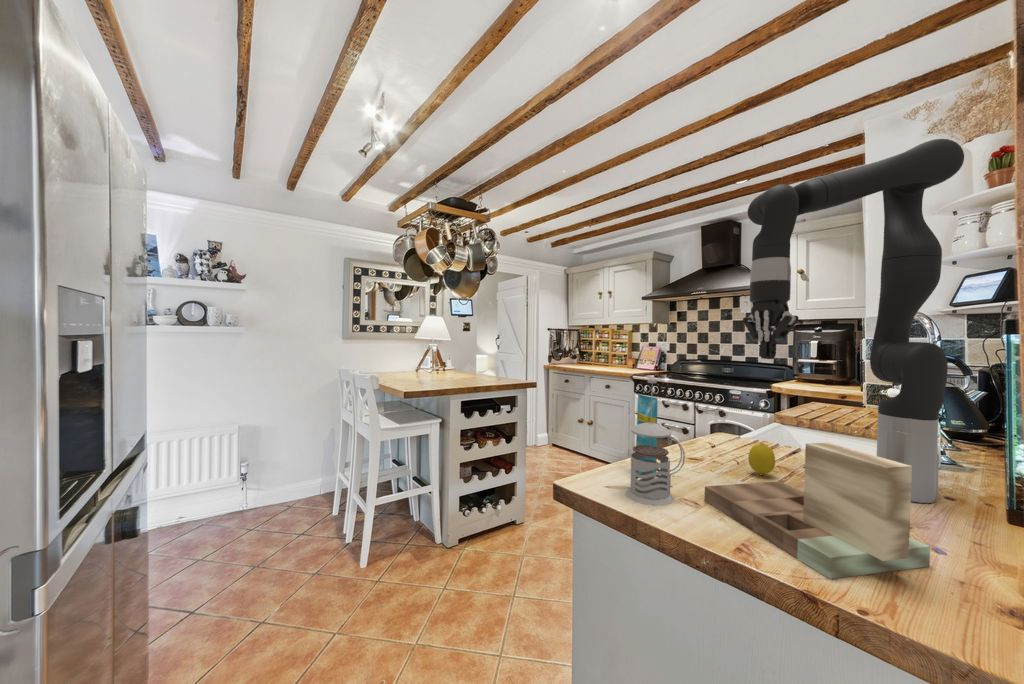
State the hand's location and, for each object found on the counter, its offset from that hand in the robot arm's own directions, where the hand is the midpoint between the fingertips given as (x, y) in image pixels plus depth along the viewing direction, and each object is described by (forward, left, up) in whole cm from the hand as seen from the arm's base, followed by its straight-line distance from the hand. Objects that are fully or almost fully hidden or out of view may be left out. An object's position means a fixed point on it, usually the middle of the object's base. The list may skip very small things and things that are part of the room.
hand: (767, 358), depth 87 cm
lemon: (-6, -7, -29) cm, 31 cm away
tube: (+22, -12, -29) cm, 38 cm away
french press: (+27, 0, -29) cm, 40 cm away
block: (+9, +26, -26) cm, 38 cm away
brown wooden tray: (+9, +17, -29) cm, 35 cm away
